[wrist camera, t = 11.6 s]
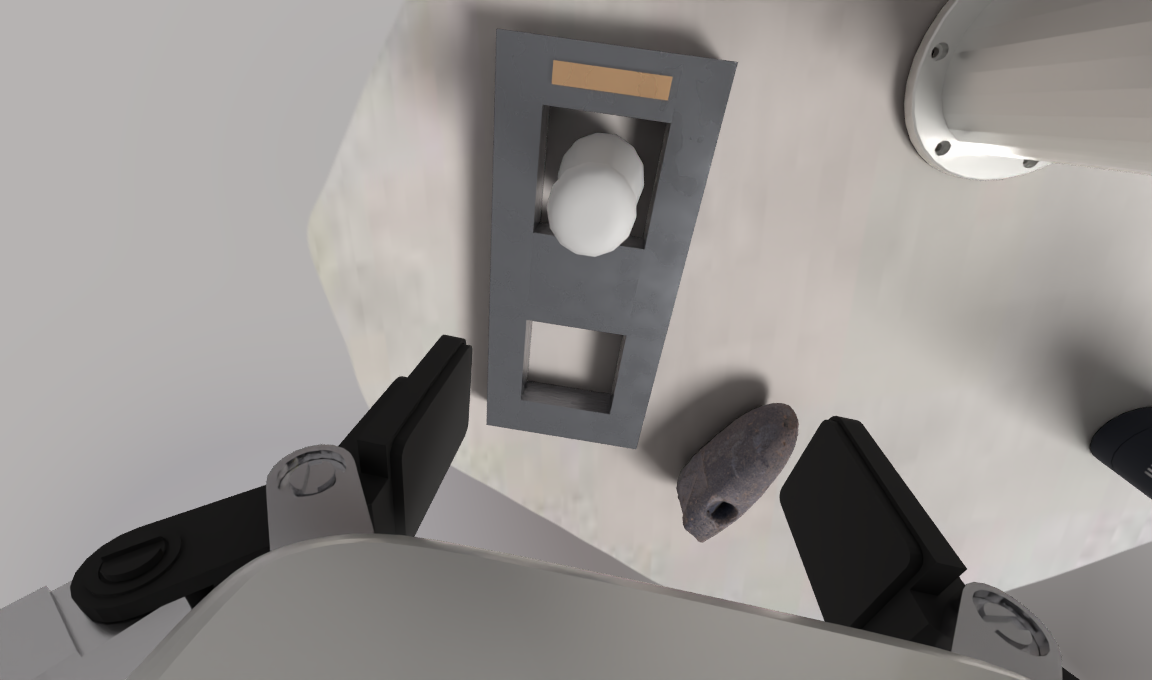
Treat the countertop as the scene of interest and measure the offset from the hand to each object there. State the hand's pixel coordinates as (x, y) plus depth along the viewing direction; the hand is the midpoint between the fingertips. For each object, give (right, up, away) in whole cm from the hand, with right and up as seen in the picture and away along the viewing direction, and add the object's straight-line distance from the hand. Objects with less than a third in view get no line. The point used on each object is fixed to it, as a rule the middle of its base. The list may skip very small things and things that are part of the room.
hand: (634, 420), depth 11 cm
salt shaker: (0, +14, +19) cm, 24 cm away
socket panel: (-1, +8, +23) cm, 24 cm away
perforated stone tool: (+13, -8, +30) cm, 34 cm away
